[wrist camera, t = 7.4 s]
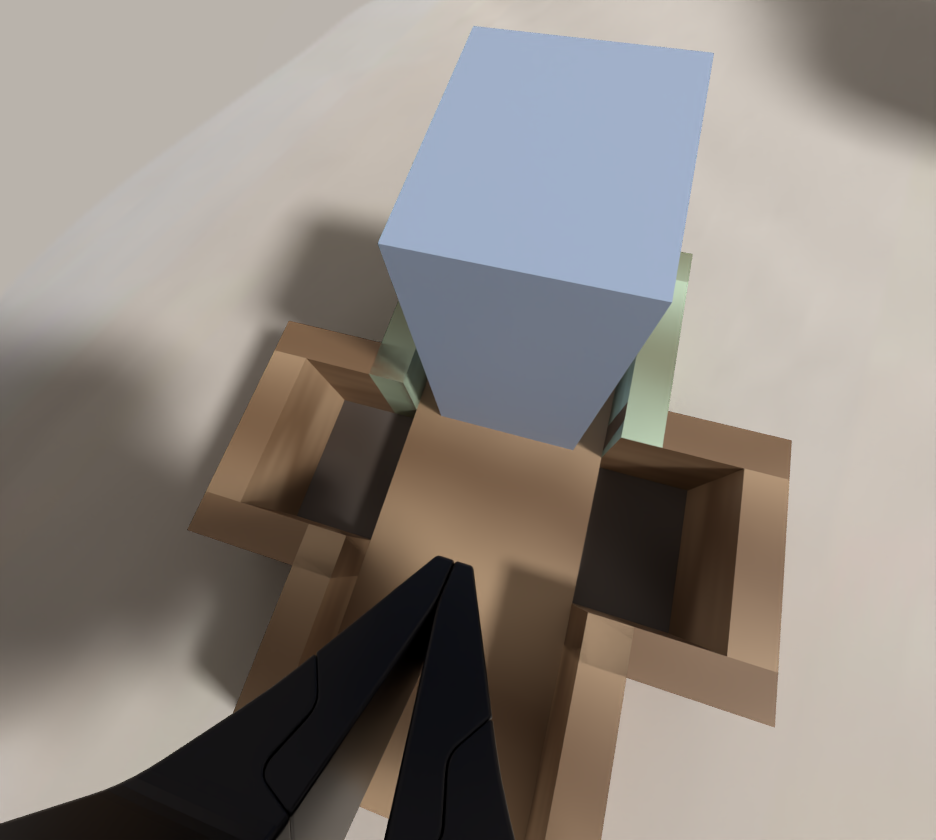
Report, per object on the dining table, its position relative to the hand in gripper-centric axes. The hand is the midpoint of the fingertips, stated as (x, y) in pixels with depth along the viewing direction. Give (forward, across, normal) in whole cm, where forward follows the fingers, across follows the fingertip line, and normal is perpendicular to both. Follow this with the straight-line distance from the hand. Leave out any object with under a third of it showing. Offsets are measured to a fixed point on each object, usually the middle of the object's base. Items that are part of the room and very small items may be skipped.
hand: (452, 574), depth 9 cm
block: (+9, 0, -2) cm, 9 cm away
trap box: (+6, 0, +3) cm, 7 cm away
